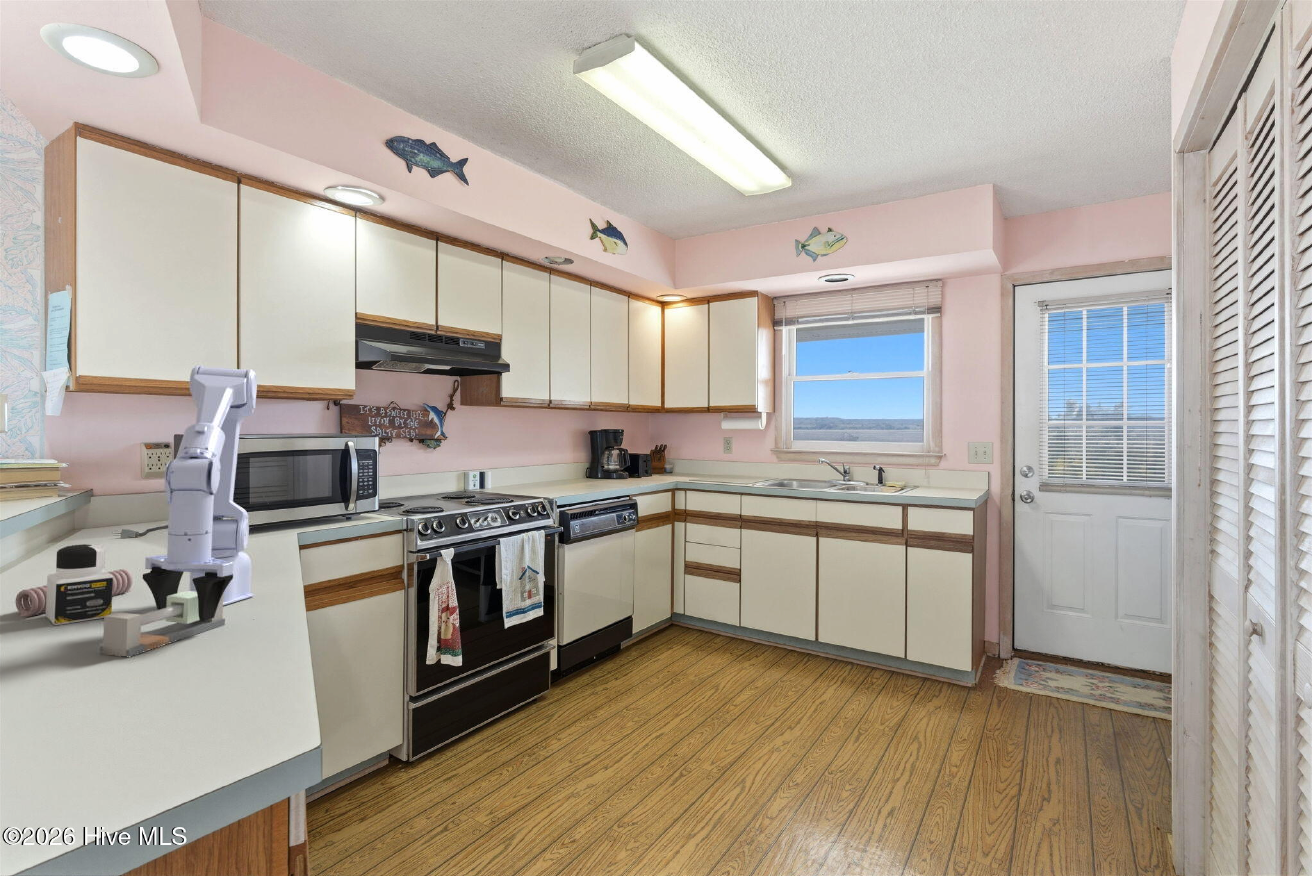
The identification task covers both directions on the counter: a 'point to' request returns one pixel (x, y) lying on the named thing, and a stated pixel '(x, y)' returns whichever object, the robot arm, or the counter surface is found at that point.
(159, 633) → the rod with sliding collar
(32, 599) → the coil
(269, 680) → the counter surface
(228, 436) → the robot arm
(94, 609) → the medicine bottle
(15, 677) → the counter surface
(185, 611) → the sleeve
